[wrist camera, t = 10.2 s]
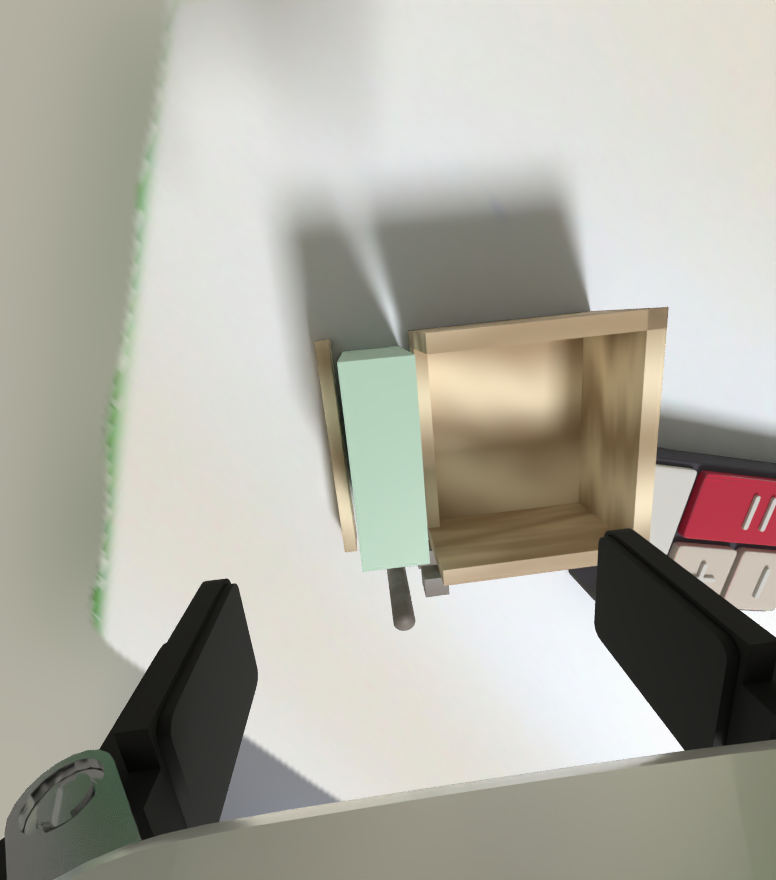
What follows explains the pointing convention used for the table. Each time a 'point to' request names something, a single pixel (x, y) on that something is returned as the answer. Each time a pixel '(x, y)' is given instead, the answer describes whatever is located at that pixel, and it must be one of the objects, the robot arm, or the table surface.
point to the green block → (385, 456)
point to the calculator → (714, 525)
